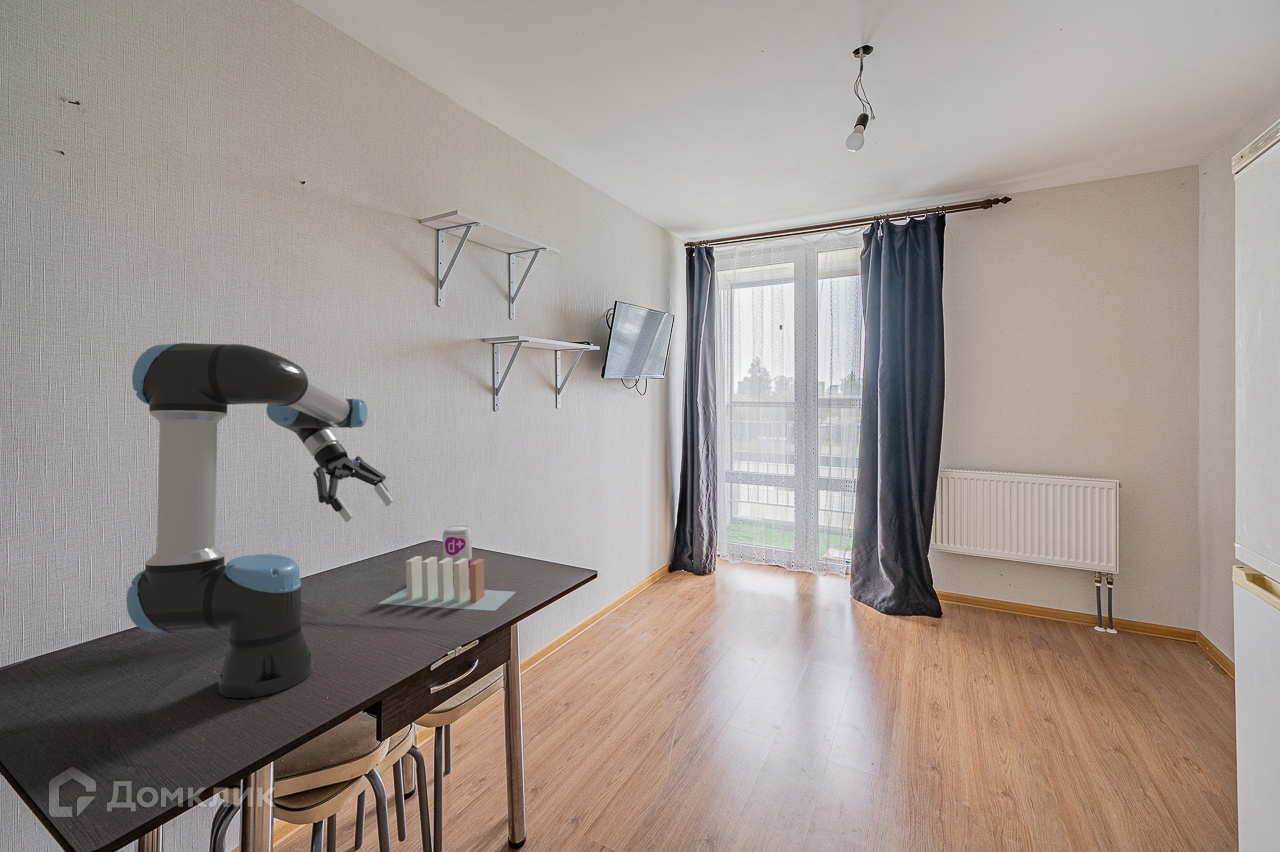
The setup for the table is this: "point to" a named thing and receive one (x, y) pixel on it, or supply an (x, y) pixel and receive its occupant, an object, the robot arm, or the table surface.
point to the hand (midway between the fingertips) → (370, 511)
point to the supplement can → (457, 544)
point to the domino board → (452, 600)
